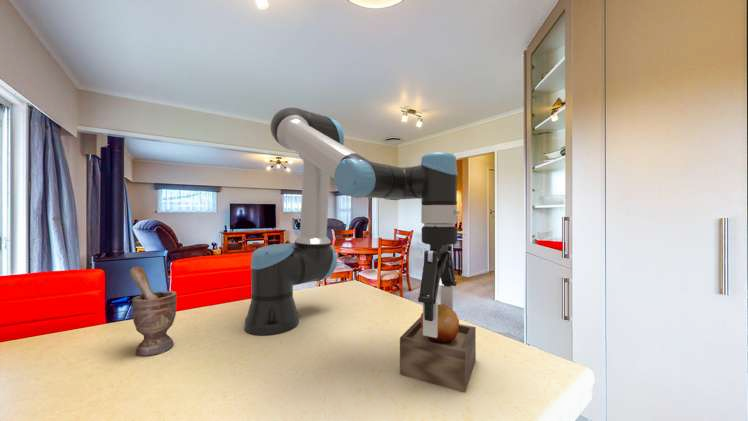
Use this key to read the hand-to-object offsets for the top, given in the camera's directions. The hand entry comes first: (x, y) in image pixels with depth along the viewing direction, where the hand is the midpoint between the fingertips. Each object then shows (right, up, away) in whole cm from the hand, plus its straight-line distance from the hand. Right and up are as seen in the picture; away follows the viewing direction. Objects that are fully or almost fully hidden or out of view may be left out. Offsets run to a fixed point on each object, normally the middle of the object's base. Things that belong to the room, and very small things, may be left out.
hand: (439, 324), depth 62 cm
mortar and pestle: (-69, -10, +8) cm, 70 cm away
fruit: (0, -3, 0) cm, 3 cm away
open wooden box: (0, -9, 0) cm, 9 cm away
